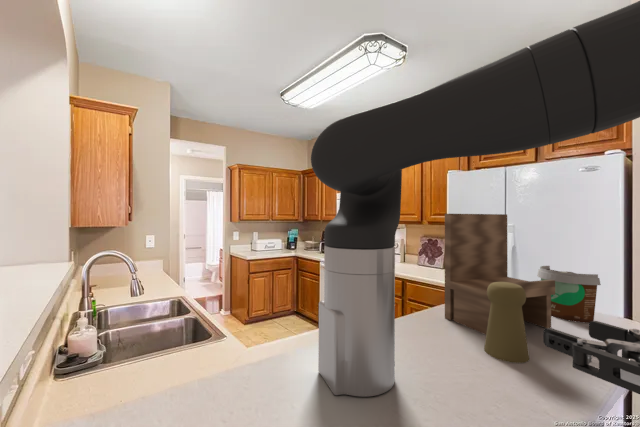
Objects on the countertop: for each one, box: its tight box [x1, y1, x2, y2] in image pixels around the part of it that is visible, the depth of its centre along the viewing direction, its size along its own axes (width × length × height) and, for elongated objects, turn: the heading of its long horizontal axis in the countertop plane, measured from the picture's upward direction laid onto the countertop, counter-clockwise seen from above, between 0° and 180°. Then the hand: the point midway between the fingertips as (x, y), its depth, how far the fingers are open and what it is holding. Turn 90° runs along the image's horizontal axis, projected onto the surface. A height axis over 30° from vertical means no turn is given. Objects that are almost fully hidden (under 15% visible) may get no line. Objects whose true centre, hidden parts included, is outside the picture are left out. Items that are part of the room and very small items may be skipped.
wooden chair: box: [444, 213, 555, 336], centre depth 61 cm, size 16×12×22 cm
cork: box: [483, 282, 531, 364], centre depth 47 cm, size 6×6×11 cm
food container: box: [537, 265, 601, 324], centre depth 66 cm, size 12×6×10 cm, turn 6°
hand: (568, 332), depth 39 cm, fingers open, 8 cm apart
